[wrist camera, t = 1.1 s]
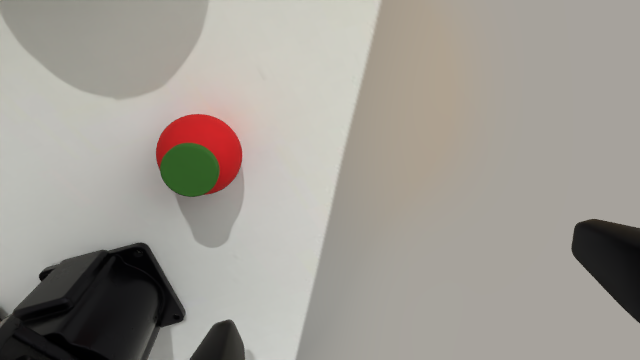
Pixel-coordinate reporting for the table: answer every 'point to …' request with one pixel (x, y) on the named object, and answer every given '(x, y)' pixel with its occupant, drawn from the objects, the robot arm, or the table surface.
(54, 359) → the robot arm
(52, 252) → the table surface
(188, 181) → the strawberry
